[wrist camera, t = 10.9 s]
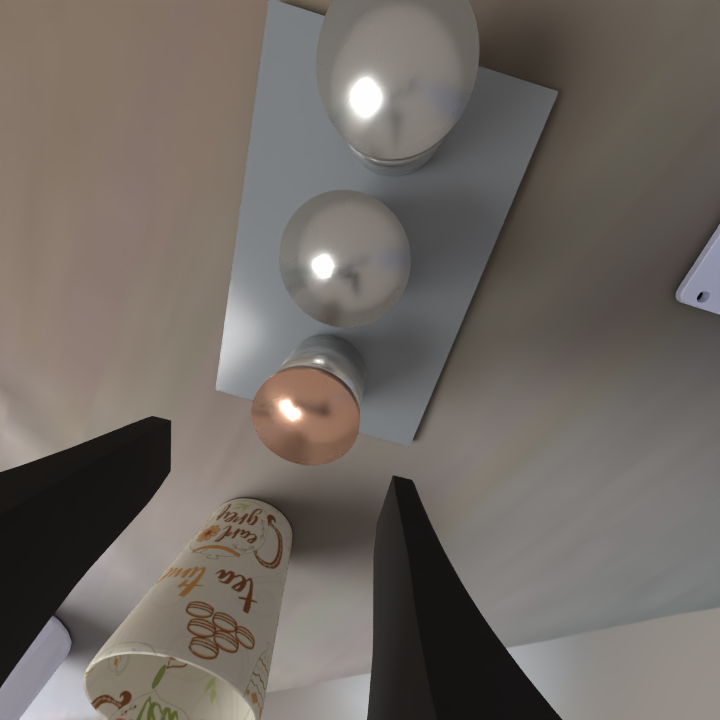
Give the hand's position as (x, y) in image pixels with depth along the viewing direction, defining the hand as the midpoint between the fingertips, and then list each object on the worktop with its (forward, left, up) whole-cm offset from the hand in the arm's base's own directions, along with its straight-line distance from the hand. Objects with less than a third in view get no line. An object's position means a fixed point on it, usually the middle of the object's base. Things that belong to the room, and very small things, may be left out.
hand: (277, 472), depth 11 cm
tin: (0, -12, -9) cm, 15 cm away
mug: (+3, +17, -10) cm, 19 cm away
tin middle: (0, -6, -9) cm, 11 cm away
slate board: (0, -5, -9) cm, 11 cm away
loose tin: (0, 0, -9) cm, 9 cm away
